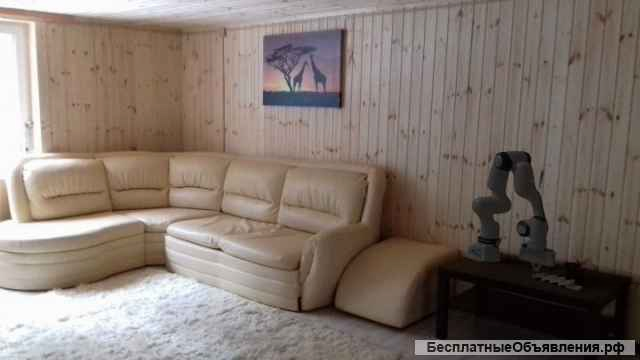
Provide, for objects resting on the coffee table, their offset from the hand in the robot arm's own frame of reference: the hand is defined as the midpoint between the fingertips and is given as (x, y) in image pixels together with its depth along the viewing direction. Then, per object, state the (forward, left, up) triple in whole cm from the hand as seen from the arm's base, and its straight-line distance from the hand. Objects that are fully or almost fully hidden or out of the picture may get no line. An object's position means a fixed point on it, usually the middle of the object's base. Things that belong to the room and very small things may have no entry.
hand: (536, 270), depth 315 cm
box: (+10, +20, -4) cm, 23 cm away
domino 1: (-1, 0, -3) cm, 3 cm away
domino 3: (+9, 0, -3) cm, 10 cm away
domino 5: (+18, 0, -4) cm, 18 cm away
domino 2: (+4, 0, -3) cm, 5 cm away
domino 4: (+14, 0, -3) cm, 15 cm away
